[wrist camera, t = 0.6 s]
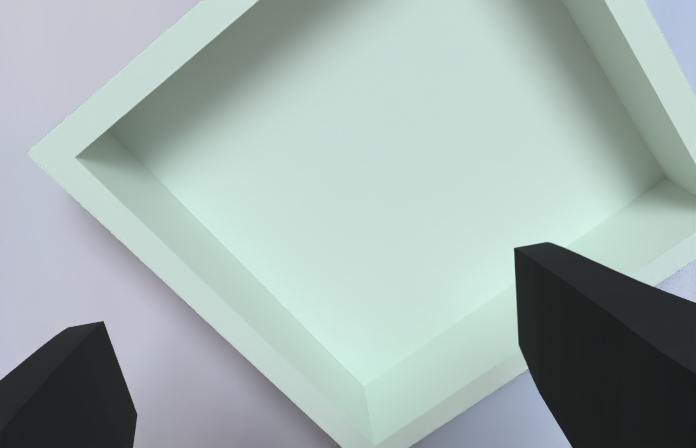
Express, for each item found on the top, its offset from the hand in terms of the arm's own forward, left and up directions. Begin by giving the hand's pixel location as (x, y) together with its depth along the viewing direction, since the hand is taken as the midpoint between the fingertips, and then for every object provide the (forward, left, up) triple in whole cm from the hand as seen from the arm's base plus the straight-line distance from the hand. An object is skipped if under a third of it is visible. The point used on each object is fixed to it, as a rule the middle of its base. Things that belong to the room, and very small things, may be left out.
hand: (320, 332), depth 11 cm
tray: (-2, -3, -10) cm, 10 cm away
